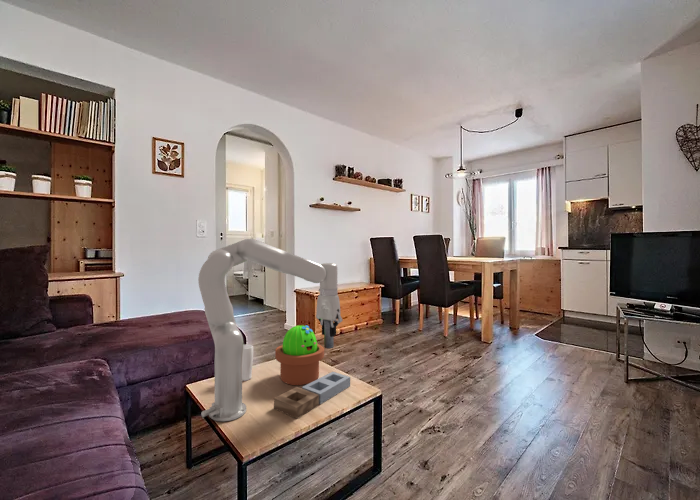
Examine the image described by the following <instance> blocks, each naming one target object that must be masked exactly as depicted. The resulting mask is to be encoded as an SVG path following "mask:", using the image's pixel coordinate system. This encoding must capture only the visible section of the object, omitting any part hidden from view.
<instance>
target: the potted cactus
mask: <svg viewBox="0 0 700 500" xmlns="http://www.w3.org/2000/svg"><path fill="white" fill-rule="evenodd" d="M316 336H317V335H316V334H315V332H314V330H313V329H312V328H310V326H309V325H304V324H297V325H295V326H292V327H291V328H290V329H289V328H288V330H287V332H286V333H285V334H284V337H283V338H282V339H283V340H282V344H280V345H279V346H277V347H276V348H275V352H274V353H275V356H274V357H275V360H276V361H277V362H278V363H280V368H279V369H280V374H279V376H280V380H281V381H282V382H283V383H285V384H286V385H291V386H305V385H307V384H309V383H311V382H313V381H315V380H317V379H319V378H320V377H319V376H320V361H322V360H323V359H324V357H325V348H324V346H323V345H321V344H319V343H318V341H317V337H316Z"/></svg>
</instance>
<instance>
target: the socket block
mask: <svg viewBox="0 0 700 500" xmlns="http://www.w3.org/2000/svg"><path fill="white" fill-rule="evenodd" d="M319 405H320V404H319V395H317V394H315V393H312V392H309V391H307V390H304V389H302V387H298V386H295V387H293V388H291V389H289V390H288V391H285V392H283V393H281V394H279V395H277V396H275V397H273V409H274V410H276V411H278V412H281V413H283V414H286V415H287V416H289V417H292V418H293V419H296V420H297V419H298V418H300V417H302V416H304V415H305V414H307V413H309V412H310V411H311V410H313V409H316V407H318V406H319Z"/></svg>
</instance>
